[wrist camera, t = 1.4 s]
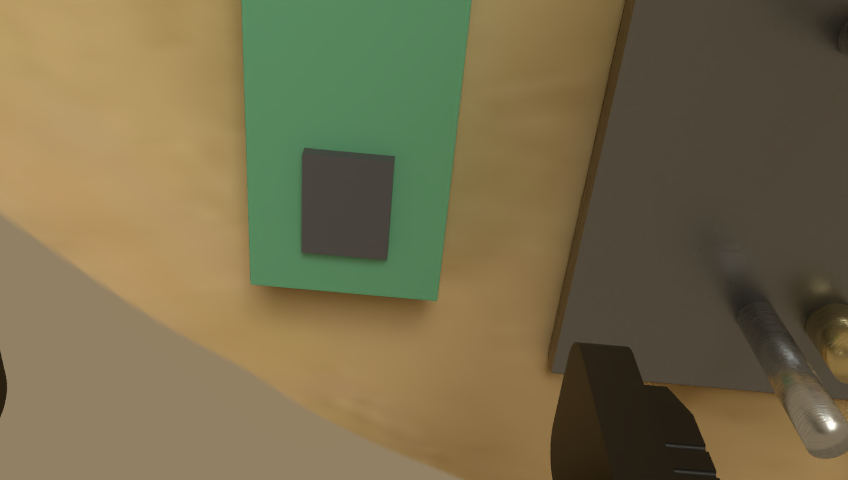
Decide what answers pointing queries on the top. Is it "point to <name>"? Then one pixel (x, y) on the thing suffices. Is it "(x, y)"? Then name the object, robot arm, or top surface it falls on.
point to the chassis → (722, 206)
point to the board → (351, 141)
